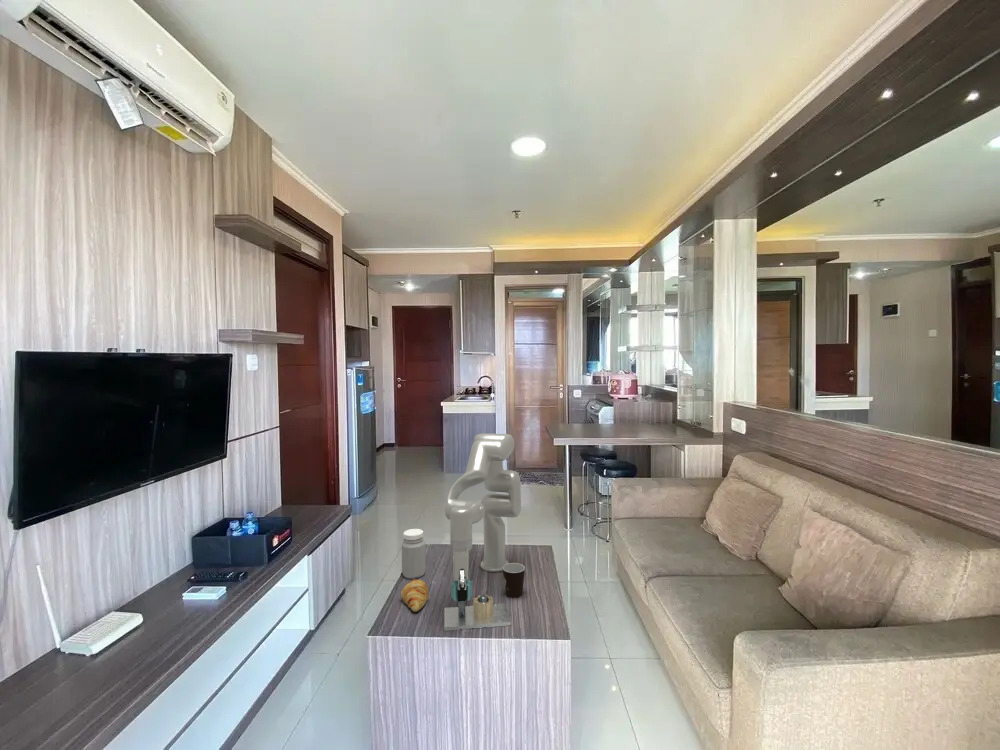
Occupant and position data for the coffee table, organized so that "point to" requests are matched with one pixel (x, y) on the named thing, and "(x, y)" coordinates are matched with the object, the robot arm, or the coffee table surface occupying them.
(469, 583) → the gear
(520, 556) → the coffee table surface
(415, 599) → the croissant
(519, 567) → the coffee mug
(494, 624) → the board
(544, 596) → the coffee table surface
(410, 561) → the jar
